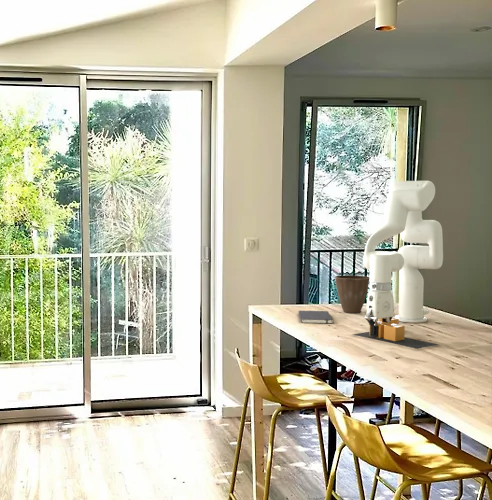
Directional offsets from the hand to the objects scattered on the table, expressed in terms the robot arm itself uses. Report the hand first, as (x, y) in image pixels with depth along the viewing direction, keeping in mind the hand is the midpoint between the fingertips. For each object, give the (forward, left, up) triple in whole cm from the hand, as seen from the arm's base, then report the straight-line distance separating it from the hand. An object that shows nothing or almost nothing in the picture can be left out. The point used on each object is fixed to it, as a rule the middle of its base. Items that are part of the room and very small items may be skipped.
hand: (379, 335), depth 240 cm
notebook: (-8, -41, -1) cm, 41 cm away
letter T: (-12, -6, -1) cm, 13 cm away
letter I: (0, +6, 0) cm, 7 cm away
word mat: (0, +6, -1) cm, 7 cm away
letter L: (0, 0, 0) cm, 0 cm away
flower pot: (-34, -44, -1) cm, 55 cm away
